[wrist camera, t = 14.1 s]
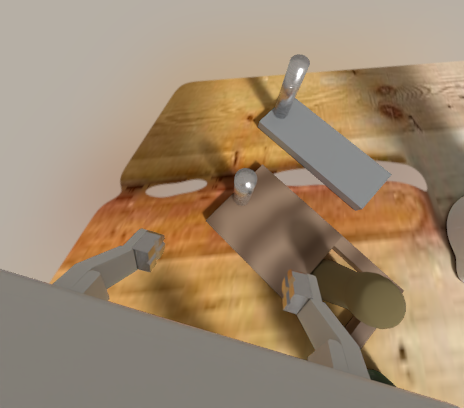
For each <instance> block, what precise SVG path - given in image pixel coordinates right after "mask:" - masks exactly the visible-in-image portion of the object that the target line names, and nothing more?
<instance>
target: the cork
mask: <svg viewBox="0 0 464 408" xmlns="http://www.w3.org/2000/svg"><path fill="white" fill-rule="evenodd" d="M310 275H314V276H316V278H317V282H318V286H319V290H320V294H321V298H322V300H324V301H327V302H330V303H332V304H335V305H338V306H340V307H343V308H346V309H349V311H350V312H351V313H352V314H353V315H354V316H355V317H356V318H357V319H358V320H360V321H361V322H363V323H365V324H366V325H368V326H370V327H374V328H379V329H387V328H392V327H395V326H396V325H398V324H399V323H400V322H401V321H402V319H403V318H404V315H405V312H406V303H405V300H404V296H403V294H402V293H401V291H400V290H399V288H398V287H397V286H396V285H395V284H394V283H393V282H392V281H391V280H390V279H388V278H386V277H384V276H382V275H380V274H377V273H372V272H360V273H358V272H355V271H353V270H351V269H349V268H347V267H345V266H342V265H340V264H338V263H336V262H334V261H332V260H327V259H322V261H321V262H320V263H319V264H318V265H317V266H316V268H315V269H314V270H313V271H312V272H311V273H310Z"/></svg>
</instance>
